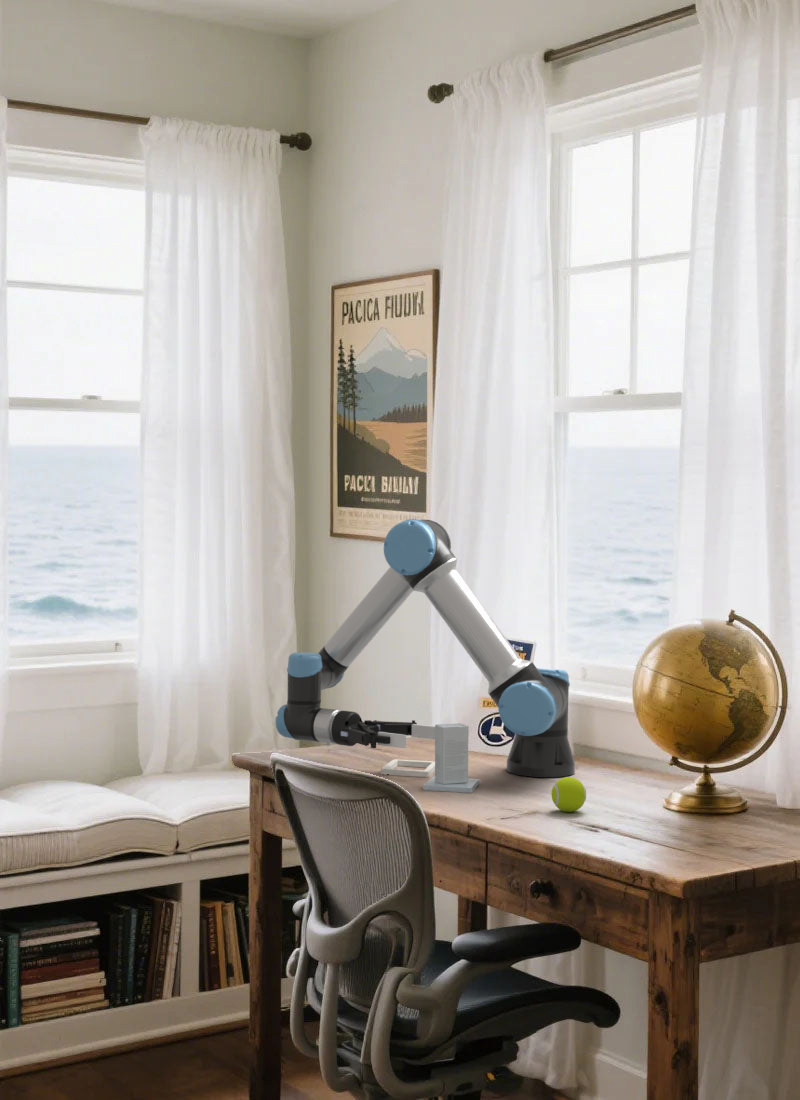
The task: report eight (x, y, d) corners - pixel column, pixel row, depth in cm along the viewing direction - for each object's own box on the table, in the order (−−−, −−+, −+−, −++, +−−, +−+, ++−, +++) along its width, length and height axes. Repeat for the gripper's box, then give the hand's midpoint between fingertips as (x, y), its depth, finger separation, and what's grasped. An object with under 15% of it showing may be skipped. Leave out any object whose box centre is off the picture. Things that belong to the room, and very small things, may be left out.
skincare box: (459, 779, 296) (461, 722, 296) (468, 783, 292) (469, 726, 292) (433, 780, 294) (434, 724, 294) (441, 784, 290) (442, 727, 290)
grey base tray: (438, 767, 315) (438, 761, 315) (428, 777, 303) (428, 771, 303) (393, 764, 318) (393, 759, 318) (380, 774, 305) (381, 768, 305)
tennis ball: (546, 808, 274) (547, 774, 274) (580, 807, 275) (580, 773, 275) (556, 815, 267) (557, 780, 267) (590, 815, 268) (591, 780, 268)
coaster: (479, 783, 297) (479, 779, 297) (471, 792, 287) (471, 788, 287) (432, 780, 299) (432, 776, 299) (423, 789, 289) (423, 785, 289)
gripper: (370, 737, 319) (451, 747, 307) (305, 752, 297) (389, 763, 286) (370, 704, 318) (451, 713, 307) (306, 716, 297) (390, 726, 286)
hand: (422, 737), depth 297 cm, fingers open, 13 cm apart
